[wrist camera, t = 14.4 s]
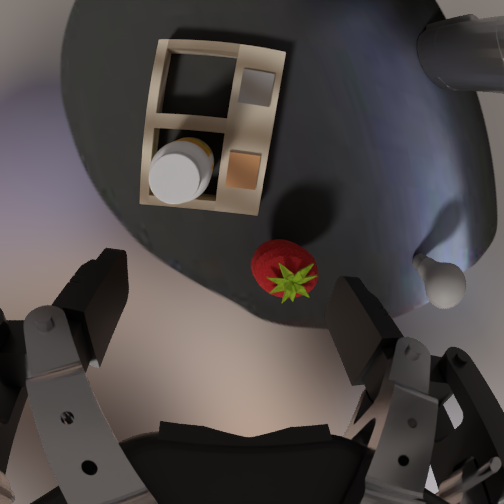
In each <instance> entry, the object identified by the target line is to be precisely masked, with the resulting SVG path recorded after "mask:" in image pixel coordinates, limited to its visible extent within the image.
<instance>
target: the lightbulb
mask: <svg viewBox="0 0 504 504" xmlns="http://www.w3.org/2000/svg"><path fill="white" fill-rule="evenodd" d="M412 265H413V267H414V268H415V269H416V270H417V271H418V274H419V275H420V277H421V278H422V279H423V281H424V284H425V290H426V294H427V297H428V299H429V301H430V302H431V303H432V304H433V305H435V306H436V307H438V308H441V309H448V308H452V307H453V306H455V305H457V304H458V303H459V302H460V301H461V299H462V298H463V296H464V293H465V290H466V280H465V276H464V274H463V272H462V271H461V269H460V268H459V267H458V266H456V265H454V264H452V263H440V262H437V261H435V260H433V259H432V258H429V257H427V256H426V255H424V254H423V253H419V254H417V255H416V256H415V257H414V258H413V261H412Z"/></svg>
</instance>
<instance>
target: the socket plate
mask: <svg viewBox="0 0 504 504" xmlns="http://www.w3.org/2000/svg"><path fill="white" fill-rule="evenodd" d="M171 54H197V55H211V56H222V57H231V58H237V63H236V68H235V74H234V80H233V85H232V91H231V97H230V103H229V109H228V116H227V118H218V117H208V116H197V115H183V114H164V113H162V107H163V100H164V93H165V87H166V81H167V75H168V69H169V64H170V59H171ZM285 56H286V52H283V51H278V50H273V49H268V48H262V47H257V46H250V45H243V44H236V43H227V42H217V41H204V40H180V39H159V42H158V47H157V52H156V56H155V62H154V67H153V72H152V78H151V84H150V90H149V97H148V104H147V112H146V120H145V129H144V139H143V151H142V165H141V183H140V204H148V205H160V206H171V207H182V208H193V209H203V210H213V211H222V212H231V213H240V214H249V215H257V216H258V211H259V205H260V199H261V193H262V188H263V182H264V176H265V170H266V165H267V159H268V153H269V147H270V142H271V136H272V130H273V124H274V119H275V113H276V107H277V101H278V96H279V90H280V84H281V78H282V73H283V67H284V61H285ZM160 128H168V129H184V130H196V131H207V132H217V133H225V135H224V142H223V149H222V156H221V163H220V171H219V178H218V186H217V194H216V195H210V194H201V195H200V196H198V197H197V198H195V199H194V200H191V201H189V202H184V203H181V204H168V203H165V202H163V201H161V200H159V199H158V198H157V197H156V196H155V195H154V194H153V192H152V191H151V188H150V185H149V168H150V164H151V161H152V159H153V157H154V155H155V154H156V153H157V150H158V140H159V131H160Z"/></svg>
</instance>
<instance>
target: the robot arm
mask: <svg viewBox="0 0 504 504" xmlns="http://www.w3.org/2000/svg"><path fill="white" fill-rule="evenodd" d="M417 52H418V56H419V60H420V63H421V65H422V67H423V69H424V71H425V73H426V74H427V75H428V77H429V78H430V79H431V80H432V81H433V82H434V83H435V84H436V85H437V86H439V87H441V88H443V89H446V90H467V91H483V92H493V93H503V94H504V16H499V17H490V18H483V19H478V18H477V17H476V16H475V15H473V14H468V15H463V16H459V17H454V18H450V19H446V20H442V21H438V22H434V23H431V24H427V25H426V30H425V31H424V32H422V33H421V34H420V36H419V38H418V41H417ZM128 293H129V284H128V270H127V254H126V251H124V250H119V249H111V248H106V249H104V251H103V252H102V253H101V254H100V256H99V257H98V258H97V259H96V260H93V259H92V260H90V261H88V262H87V263H85V264H84V265H82V266H81V267H80V268H79V269H78V270H77V272H76V273H75V276H73V277H72V278H71V279H70V282H68V283H67V285H66V286H65V287H64V289H63V290H62V291H61V293H60V294H59V296H58V297H57V298H56V300H55V301H54V302H53V304H52V305H47V306H41V307H38V308H36V309H34V310H32V311H31V312H30V313H29V314H28V315H27V316H26V318H25V320H9V321H8V320H6V318H5V316H4V313H3V311H2V310H1V308H0V504H12V503H13V502H14V500H15V496H14V493H13V491H12V490H11V487H10V484H9V482H8V479H7V478H6V476H5V473H6V469H7V464H8V459H9V455H10V451H11V447H12V443H13V439H14V436H15V433H16V429H17V426H18V423H19V420H20V417H21V414H22V411H23V408H24V405H25V402H26V399H27V397H28V396H29V400H30V405H31V409H32V413H33V416H34V420H35V423H36V426H37V430H38V433H39V436H40V439H41V442H42V445H43V448H44V451H45V454H46V456H47V459H48V461H49V464H50V466H51V469H52V471H53V473H54V476H55V478H56V480H57V483H58V485H59V486H57V487H56V488H54V489H53V490H51V491H49V492H48V493H46V494H45V495H43V496H42V497H40V498H39V499H37V500H35V501H34V502H32V503H30V504H504V412H503V410H502V408H501V407H500V405H499V403H498V401H497V399H496V398H495V396H494V394H493V393H492V391H491V389H490V388H489V386H488V384H487V383H486V381H485V379H484V378H483V376H482V375H481V373H480V371H479V370H478V368H477V367H476V365H475V364H474V362H473V361H472V359H471V358H470V356H469V355H468V354H467V353H466V352H465V351H463V350H461V349H459V348H457V347H450V348H448V350H447V351H446V352H445V354H444V355H443V356H442V357H438V356H432V355H430V353H429V351H428V349H427V348H426V347H425V346H424V345H423V344H422V343H421V342H420V341H418V340H416V339H414V338H410V337H404V336H403V335H402V333H401V332H400V330H399V329H398V327H397V326H396V324H395V323H394V321H393V320H392V318H391V317H390V316H389V315H388V313H387V311H386V310H385V309H384V308H383V305H382V304H381V302H380V301H379V300H378V298H377V297H375V296H374V295H373V294H372V293H370V292H369V291H368V290H367V288H366V287H365V286H364V284H363V283H362V281H361V280H360V279H359V278H357V277H347V276H340V277H339V278H338V279H337V281H336V284H335V287H334V289H333V292H332V294H331V297H330V300H329V302H328V305H327V307H326V311H325V321H326V324H327V327H328V329H329V331H330V333H331V336H332V338H333V341H334V343H335V345H336V348H337V350H338V353H339V355H340V357H341V360H342V362H343V365H344V367H345V370H346V372H347V375H348V377H349V380H350V382H351V384H352V386H353V385H365V387H366V388H365V390H364V391H363V392H362V394H361V397H360V399H359V402H358V405H357V407H356V410H355V412H354V414H353V417H352V419H351V421H350V424H349V426H348V428H347V430H346V432H345V434H344V435H343V437H342V436H337V435H331V434H330V430H329V427H328V424H324V425H313V426H301V427H290V428H286V429H283V430H279V431H275V432H271V433H268V434H264V435H260V436H255V437H243V436H238V435H234V434H230V433H226V432H222V431H219V430H215V429H212V428H208V427H204V426H197V425H187V424H178V423H170V422H163V421H160V427H159V432H150V433H143V434H139V435H136V436H132V437H130V438H128V439H125V440H123V441H121V442H118V441H117V439H116V437H115V436H114V433H113V432H112V430H111V428H110V426H109V424H108V422H107V420H106V418H105V416H104V414H103V412H102V410H101V408H100V406H99V404H98V402H97V399H96V397H95V395H94V393H93V390H92V388H91V386H90V383H89V381H88V379H87V376H86V374H85V373H86V371H87V368H88V365H90V366H94V367H98V368H100V366H101V363H102V360H103V358H104V355H105V352H106V350H107V347H108V345H109V343H110V340H111V338H112V335H113V333H114V330H115V328H116V326H117V323H118V321H119V318H120V316H121V314H122V312H123V309H124V307H125V305H126V302H127V299H128ZM452 394H454V396H455V398H456V399H457V401H458V403H459V405H460V407H461V409H462V411H463V421H462V423H461V424H460V425H459V426H458V427H457V428H456V429H454V427H453V425H452V422H451V420H450V418H449V416H448V414H447V412H446V410H445V408H444V406H443V404H444V403H445V402H446V401H447V400H448V399H449V398H450V397H451V396H452ZM430 465H431V468H432V471H433V474H434V477H435V480H436V483H437V486H438V489H439V492H437V493H436V494H433V493H432V492H430V491H429V490H427V489H425V484H426V479H427V475H428V471H429V466H430Z"/></svg>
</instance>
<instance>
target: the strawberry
mask: <svg viewBox="0 0 504 504" xmlns="http://www.w3.org/2000/svg"><path fill="white" fill-rule="evenodd" d="M251 270H252V273H253V276H254V277H255V279H256V280H257V282H258V284H259V285H260V286H261V287H262V288H263V289H264V290H265V291H267V292H268V293H269V294H272V295H275V296H278V297H283V299H282V303H283V302H284V301H285V300H286V299H287V298H291V300H292V302H293V300H294V298H295V297H299V296H302V295H304V296H306V297H309V295H308V292H309V291H311V290H312V289H313V288H314V286H315V285H316V283H317V280H318V270H317V265H316V262H315V260H314V258H313V257H312V255H311V254H310V253H309V252H308V251H307V250H305V249H304V248H302V247H301V246H299V245H297V244H296V243H293V242H291V241H288V240H282V239H275V240H270V241H267V242H265V243H263V244H262V245H260V246H259V247H258V249H257V250H256V252H255V254H254V256H253V258H252V261H251ZM282 303H281V304H282Z"/></svg>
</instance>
